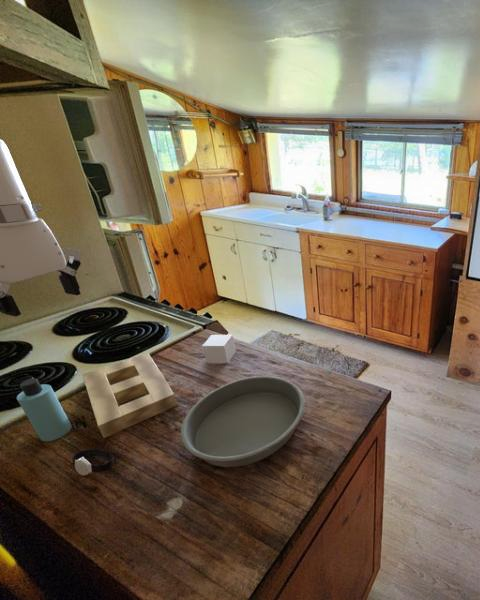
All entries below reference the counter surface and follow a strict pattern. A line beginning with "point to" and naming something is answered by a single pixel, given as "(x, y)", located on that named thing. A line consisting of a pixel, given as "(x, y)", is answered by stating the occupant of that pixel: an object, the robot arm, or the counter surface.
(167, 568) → the counter surface
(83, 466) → the watch
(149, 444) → the counter surface
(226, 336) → the white cube
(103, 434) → the hole block
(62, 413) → the bottle
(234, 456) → the cake pan
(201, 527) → the counter surface
